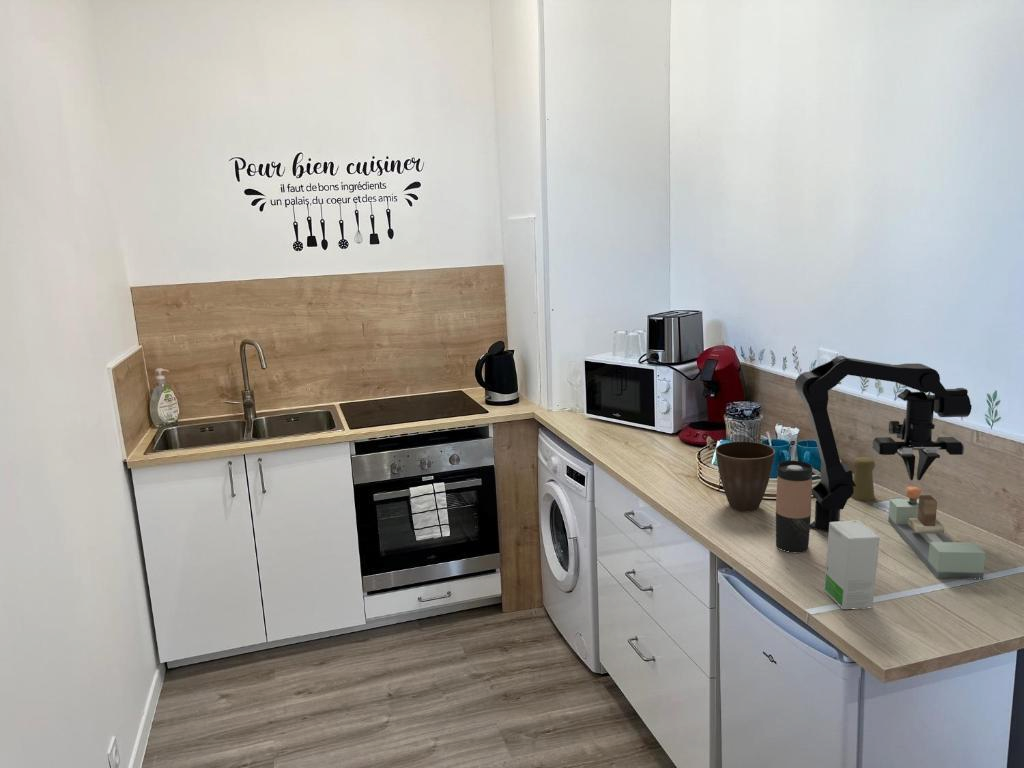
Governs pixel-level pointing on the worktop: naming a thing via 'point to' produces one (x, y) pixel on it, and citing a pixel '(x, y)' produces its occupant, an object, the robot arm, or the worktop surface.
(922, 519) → the carriage
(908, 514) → the rail bench
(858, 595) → the skincare box
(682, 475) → the worktop surface
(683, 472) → the worktop surface
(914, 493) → the orange knob
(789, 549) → the travel mug
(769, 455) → the plant pot
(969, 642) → the worktop surface
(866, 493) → the cork
